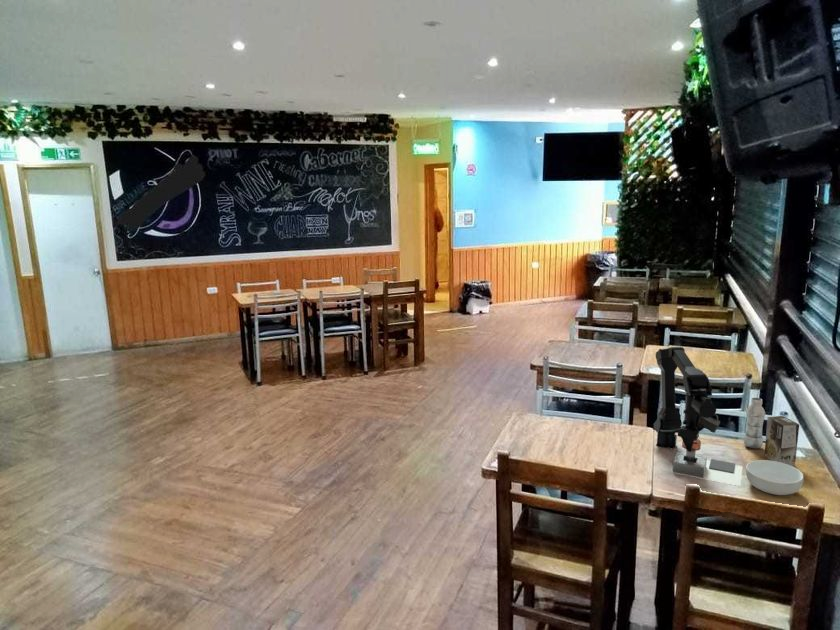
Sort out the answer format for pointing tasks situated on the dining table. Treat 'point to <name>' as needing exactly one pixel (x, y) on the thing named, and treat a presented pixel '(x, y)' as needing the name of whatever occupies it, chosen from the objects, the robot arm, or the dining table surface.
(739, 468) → the board
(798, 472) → the cereal bowl
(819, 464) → the dining table surface
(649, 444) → the dining table surface
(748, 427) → the plastic bottle
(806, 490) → the dining table surface
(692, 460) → the copper disc with stripe
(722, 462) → the pad
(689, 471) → the metal block
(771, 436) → the coffee box
